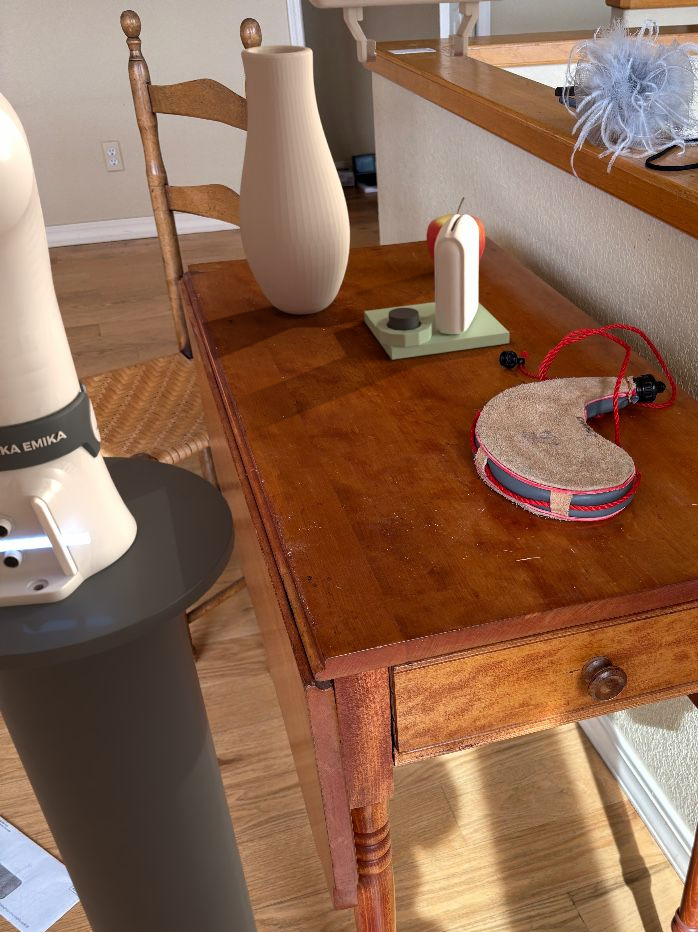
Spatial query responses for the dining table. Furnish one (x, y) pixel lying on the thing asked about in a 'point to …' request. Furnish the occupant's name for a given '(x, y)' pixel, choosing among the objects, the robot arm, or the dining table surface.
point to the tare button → (403, 319)
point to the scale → (433, 333)
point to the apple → (437, 225)
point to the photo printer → (456, 274)
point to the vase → (290, 185)
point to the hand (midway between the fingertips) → (413, 58)
